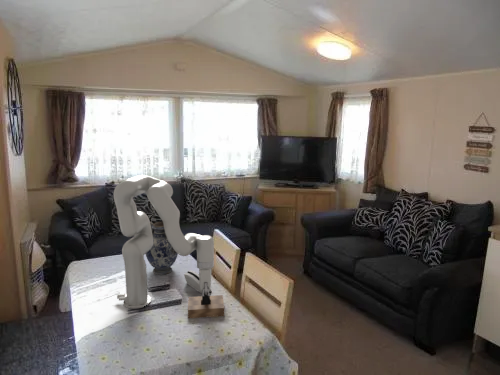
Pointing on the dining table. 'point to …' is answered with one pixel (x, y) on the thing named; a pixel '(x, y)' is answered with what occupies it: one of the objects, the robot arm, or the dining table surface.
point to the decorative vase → (161, 251)
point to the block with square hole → (205, 307)
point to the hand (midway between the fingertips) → (205, 298)
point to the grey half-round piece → (193, 280)
